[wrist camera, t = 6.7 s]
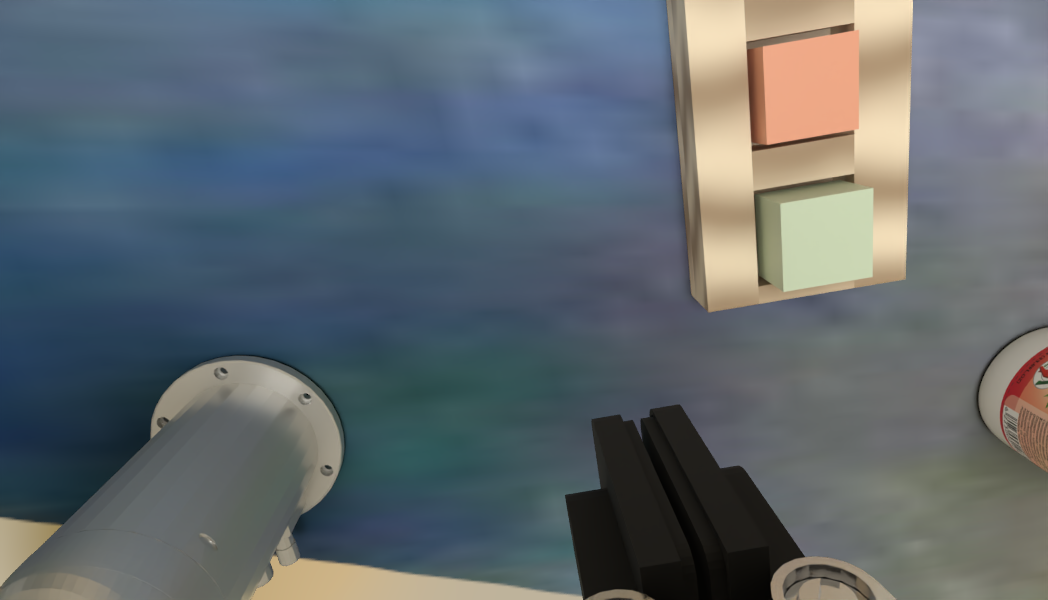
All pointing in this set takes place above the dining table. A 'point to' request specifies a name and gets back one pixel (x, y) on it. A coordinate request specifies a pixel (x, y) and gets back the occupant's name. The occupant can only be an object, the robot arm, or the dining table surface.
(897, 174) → the button panel
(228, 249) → the dining table surface
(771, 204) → the sage button
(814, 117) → the terracotta button
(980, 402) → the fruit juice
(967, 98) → the dining table surface
